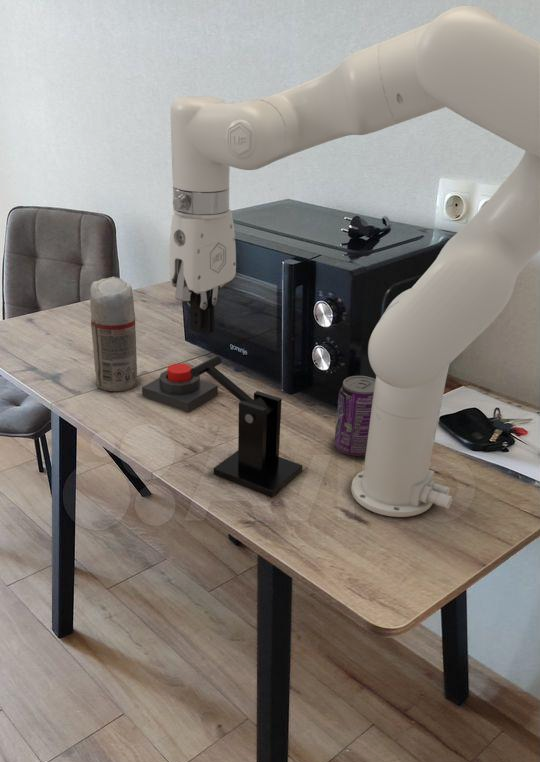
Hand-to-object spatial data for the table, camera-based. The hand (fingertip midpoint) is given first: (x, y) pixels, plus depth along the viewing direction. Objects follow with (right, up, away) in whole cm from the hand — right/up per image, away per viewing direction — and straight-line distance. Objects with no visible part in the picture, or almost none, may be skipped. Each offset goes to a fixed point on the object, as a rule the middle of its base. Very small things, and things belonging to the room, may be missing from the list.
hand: (202, 331), depth 104 cm
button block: (-7, -6, +29) cm, 30 cm away
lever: (+4, -9, +3) cm, 11 cm away
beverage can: (+24, -17, +15) cm, 33 cm away
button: (-7, -3, +27) cm, 28 cm away
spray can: (-20, -3, +33) cm, 38 cm away
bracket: (+8, -21, +7) cm, 24 cm away
